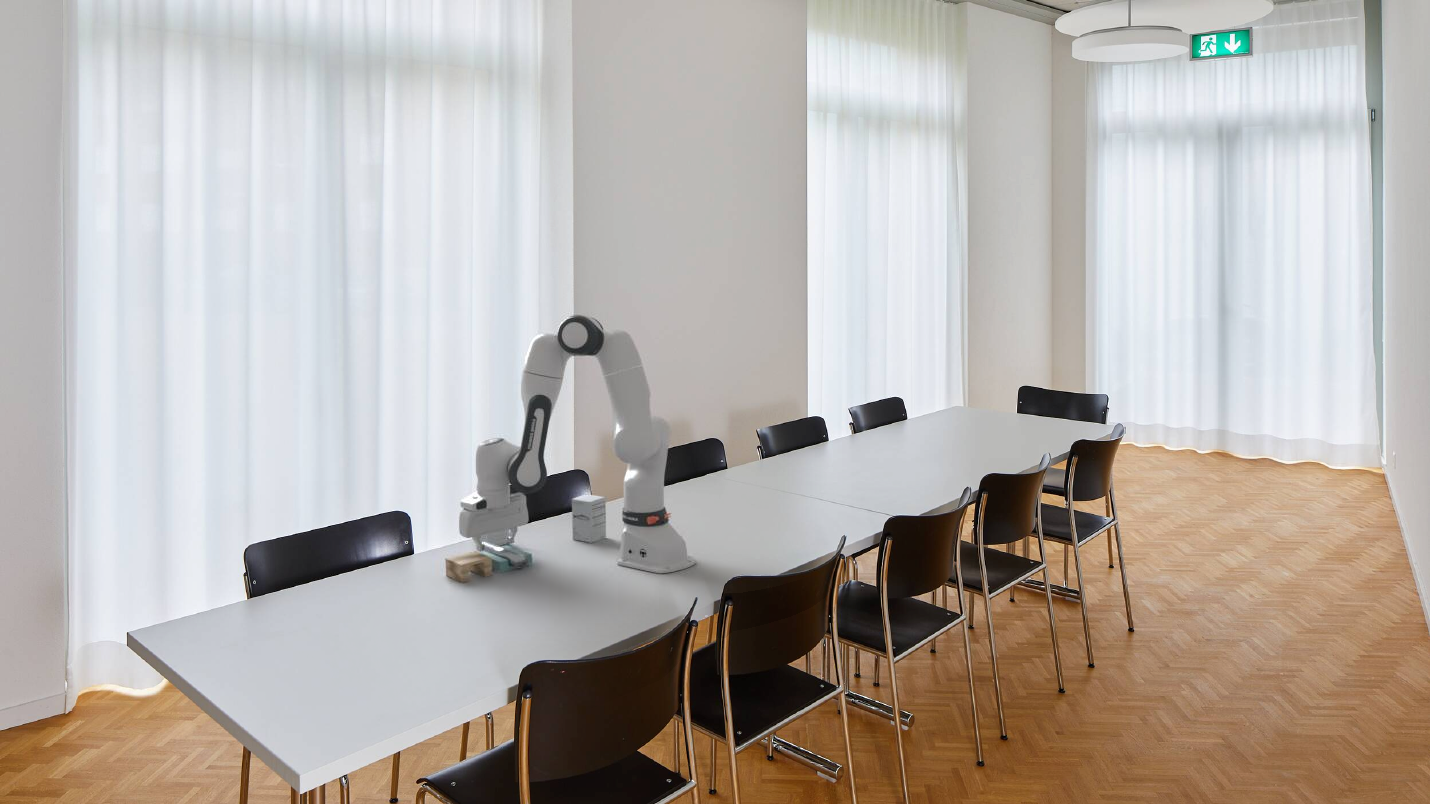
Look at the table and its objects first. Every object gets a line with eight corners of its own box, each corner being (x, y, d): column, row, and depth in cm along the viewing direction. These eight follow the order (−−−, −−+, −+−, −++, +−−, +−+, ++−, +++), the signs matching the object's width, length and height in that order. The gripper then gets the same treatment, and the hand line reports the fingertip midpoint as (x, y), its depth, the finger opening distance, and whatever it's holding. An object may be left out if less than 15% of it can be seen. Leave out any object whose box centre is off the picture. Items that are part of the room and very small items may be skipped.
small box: (498, 539, 286) (496, 505, 285) (510, 543, 283) (508, 508, 281) (475, 545, 280) (474, 510, 278) (487, 549, 276) (486, 513, 275)
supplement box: (571, 540, 285) (570, 498, 283) (587, 534, 291) (586, 493, 290) (591, 543, 281) (590, 501, 279) (607, 537, 288) (606, 496, 286)
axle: (527, 565, 258) (526, 553, 257) (516, 569, 256) (515, 556, 255) (491, 551, 271) (489, 539, 270) (480, 555, 268) (478, 543, 268)
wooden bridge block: (492, 574, 254) (491, 557, 253) (462, 582, 247) (461, 565, 247) (475, 568, 259) (475, 551, 259) (446, 575, 253) (445, 558, 252)
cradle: (532, 564, 262) (531, 554, 262) (500, 572, 255) (500, 562, 255) (507, 554, 271) (507, 545, 270) (476, 562, 264) (475, 552, 263)
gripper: (519, 489, 273) (521, 536, 275) (454, 502, 258) (457, 552, 260) (532, 492, 268) (533, 541, 270) (467, 506, 254) (469, 557, 256)
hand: (495, 546), depth 265 cm, fingers open, 8 cm apart
